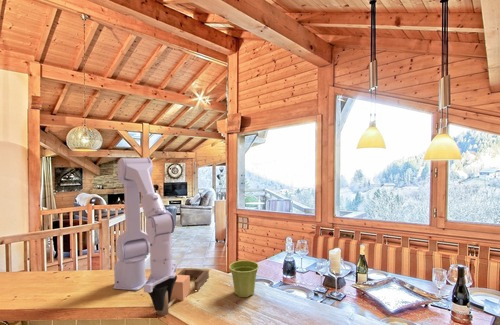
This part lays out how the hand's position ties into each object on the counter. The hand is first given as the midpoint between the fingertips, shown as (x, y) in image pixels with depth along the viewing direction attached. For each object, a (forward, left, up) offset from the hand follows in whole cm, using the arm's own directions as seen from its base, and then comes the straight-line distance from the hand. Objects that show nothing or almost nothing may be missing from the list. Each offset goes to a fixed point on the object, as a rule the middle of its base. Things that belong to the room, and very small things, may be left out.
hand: (162, 306), depth 77 cm
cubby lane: (0, +18, -2) cm, 19 cm away
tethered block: (0, +6, -2) cm, 6 cm away
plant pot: (+20, +15, -2) cm, 25 cm away
